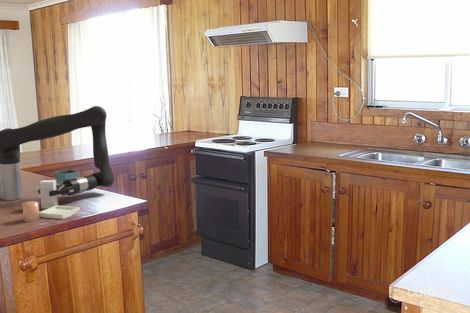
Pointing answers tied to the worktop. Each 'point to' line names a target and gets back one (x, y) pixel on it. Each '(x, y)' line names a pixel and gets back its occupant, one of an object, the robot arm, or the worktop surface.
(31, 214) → the orange-pink rounded cylinder
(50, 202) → the skincare box
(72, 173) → the flower pot
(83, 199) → the worktop surface
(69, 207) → the tray
